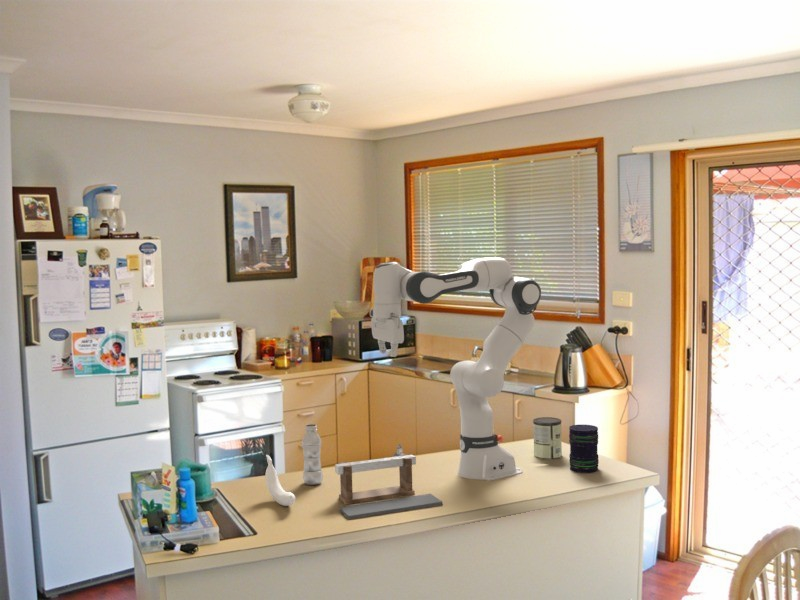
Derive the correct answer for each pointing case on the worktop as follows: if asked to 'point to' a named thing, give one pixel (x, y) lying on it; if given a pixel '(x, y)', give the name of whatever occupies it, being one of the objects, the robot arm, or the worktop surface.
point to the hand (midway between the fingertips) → (388, 354)
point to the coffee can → (547, 438)
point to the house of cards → (398, 451)
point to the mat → (390, 506)
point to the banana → (277, 486)
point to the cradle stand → (376, 494)
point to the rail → (374, 464)
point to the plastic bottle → (312, 456)
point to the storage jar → (583, 448)
